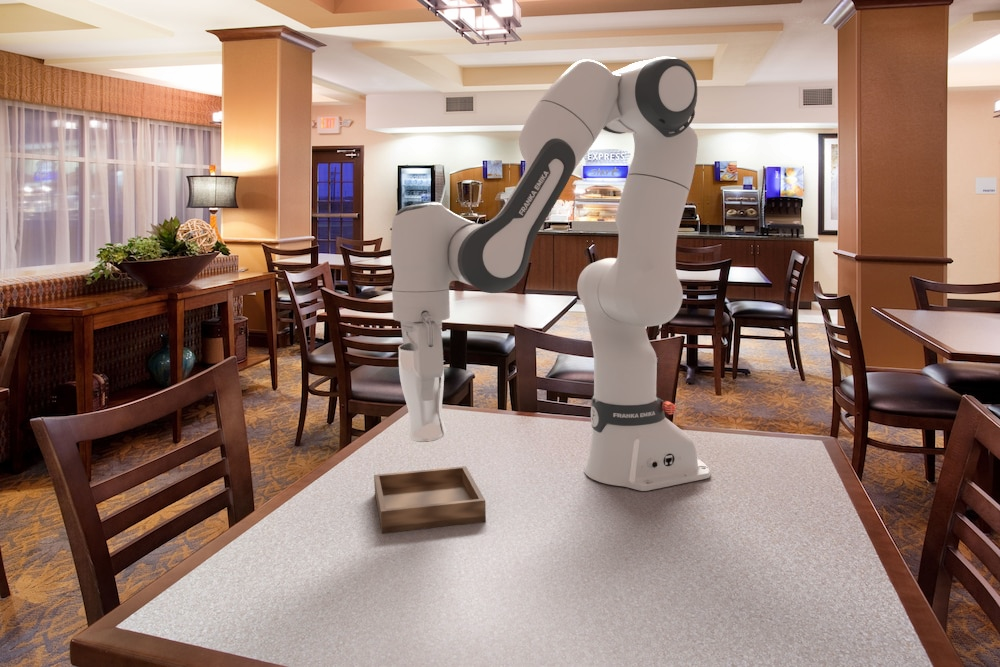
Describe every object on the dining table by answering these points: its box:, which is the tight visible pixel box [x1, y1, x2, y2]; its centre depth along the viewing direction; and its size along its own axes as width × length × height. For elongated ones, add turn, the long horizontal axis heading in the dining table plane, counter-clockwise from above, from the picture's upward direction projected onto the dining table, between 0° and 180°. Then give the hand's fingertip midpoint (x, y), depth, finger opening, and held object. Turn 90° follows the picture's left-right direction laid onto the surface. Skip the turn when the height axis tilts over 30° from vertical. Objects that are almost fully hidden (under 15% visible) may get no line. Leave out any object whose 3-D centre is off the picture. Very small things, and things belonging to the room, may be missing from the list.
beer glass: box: [397, 342, 447, 443], centre depth 115 cm, size 7×7×15 cm
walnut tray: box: [373, 465, 487, 534], centre depth 118 cm, size 16×16×4 cm
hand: (423, 393), depth 115 cm, fingers closed on beer glass, 6 cm apart
